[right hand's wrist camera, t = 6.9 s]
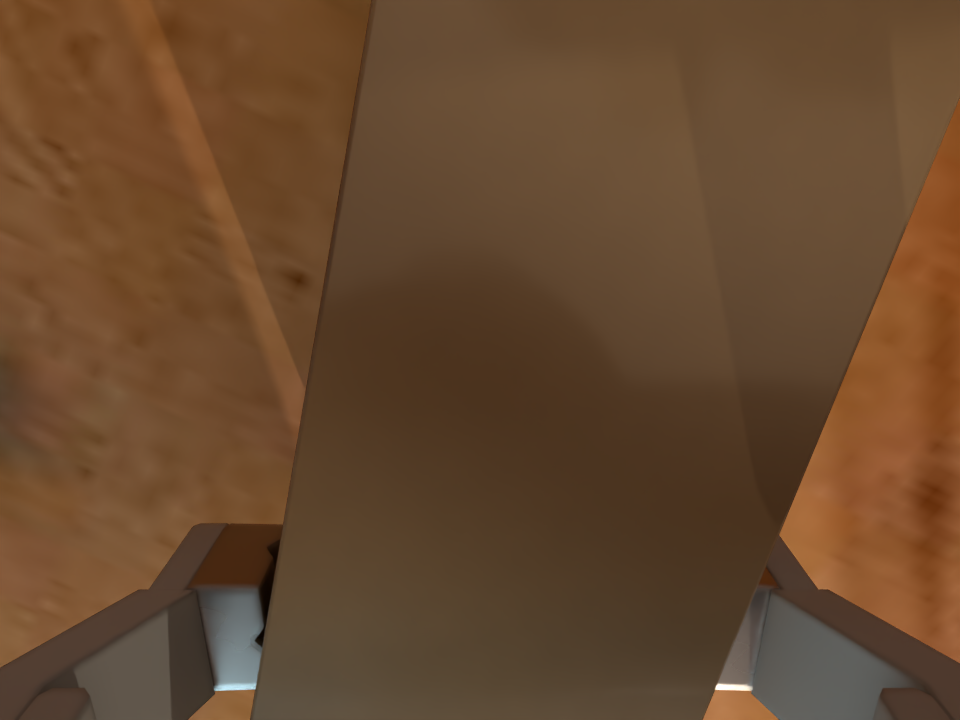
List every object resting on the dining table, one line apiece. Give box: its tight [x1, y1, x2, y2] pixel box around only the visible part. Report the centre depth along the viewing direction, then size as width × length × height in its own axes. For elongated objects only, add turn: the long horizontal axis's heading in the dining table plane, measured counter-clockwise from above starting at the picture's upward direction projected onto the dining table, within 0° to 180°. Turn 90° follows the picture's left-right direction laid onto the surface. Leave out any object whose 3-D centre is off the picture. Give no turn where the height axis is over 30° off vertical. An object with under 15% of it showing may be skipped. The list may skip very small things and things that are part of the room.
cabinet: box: [250, 0, 960, 720], centre depth 11 cm, size 18×6×10 cm, turn 167°
